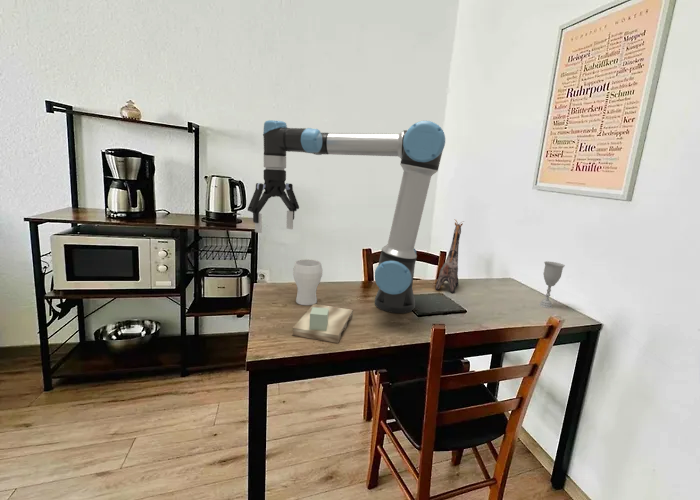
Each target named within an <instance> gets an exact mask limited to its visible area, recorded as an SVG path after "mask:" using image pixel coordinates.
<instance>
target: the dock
mask: <svg viewBox="0 0 700 500" xmlns="http://www.w3.org/2000/svg"><path fill="white" fill-rule="evenodd" d="M310 306H311V307H310V308H309V309H308V310H307V311H306V312H305V313H304V314H303V315H302V316H301V317H300V318H299V320H298V321H297V322H296V323H295V324H294V325H293V326H292V336H295V337H301V338H307V339H313V340H318V341H325V342H330V343H335V344H339V342H340V340H341V339H342V336H341V335H342V333H343V332H345V331H346V329H347V327H348V322H349V321H352V318H353V312H354V310H353V309H349V308H344V307H343V308H342V307H336V306H331V305H324V304H317V303H316V304H313V305H310ZM312 307H316V308H328V309H329V315H328V326H327V330H326V331H321V330H309V326H310V313H311V310H312Z"/></svg>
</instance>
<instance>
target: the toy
mask: <svg viewBox="0 0 700 500" xmlns="http://www.w3.org/2000/svg"><path fill="white" fill-rule="evenodd" d="M454 220H455V222H454V226H455V228H454V229H453V230H454V231H453V237H452V241H451V244H450V248H449V251H448V254H447V257H446V260H445V262H444V263H443V265H442V267H440V270H439V276H438V278H437V280H436V282H435V286H434V288H435V289H434V290H436V291H438V290H439V289H440V288H441V287H442V285H443V284H444V283H445V282H447V283H448V286H449V290H450V292H451V293H452V294H454V293H455V291H456V288H457V287H458V286H459V276H458V275H459V274H458V272H459V248H460V246H459V245H460V237H461V233H462V226H463V222H461V223H458V221H457V219H454Z"/></svg>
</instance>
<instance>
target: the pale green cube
mask: <svg viewBox="0 0 700 500" xmlns="http://www.w3.org/2000/svg"><path fill="white" fill-rule="evenodd" d="M328 315H329V309H328V308H316V307H312V310H311V313H310V326H309V330H321V331H326V330H327V326H328Z"/></svg>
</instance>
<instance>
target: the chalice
mask: <svg viewBox="0 0 700 500" xmlns="http://www.w3.org/2000/svg"><path fill="white" fill-rule="evenodd" d="M543 263H544V269H543V272H542V273H543V279H544V282H545V285H547V286H548V287H547V289H546V293H545V299H544V298H543V299H542V300H541V301H540V302H539V304H538V306H539V307H541V308H545V309H553V308H554V307H553V304H552V301H551V300H550V296H551V292H552V290H551V289H552V287H555V286H556V284H557V283H558V282H559V280H560V279H561V278H562V274H563V273H562V272H563V269H564V268H565V266H566V265H565V264H563V263H560V262H557V261H556V262H554V261H548V260H547V261H544V262H543Z"/></svg>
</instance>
